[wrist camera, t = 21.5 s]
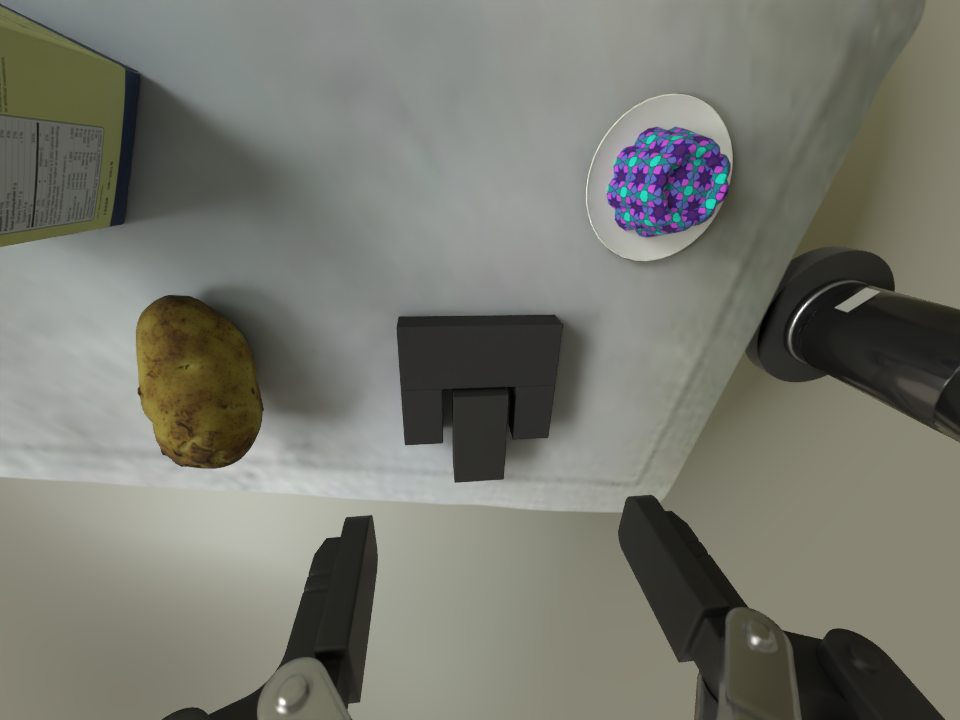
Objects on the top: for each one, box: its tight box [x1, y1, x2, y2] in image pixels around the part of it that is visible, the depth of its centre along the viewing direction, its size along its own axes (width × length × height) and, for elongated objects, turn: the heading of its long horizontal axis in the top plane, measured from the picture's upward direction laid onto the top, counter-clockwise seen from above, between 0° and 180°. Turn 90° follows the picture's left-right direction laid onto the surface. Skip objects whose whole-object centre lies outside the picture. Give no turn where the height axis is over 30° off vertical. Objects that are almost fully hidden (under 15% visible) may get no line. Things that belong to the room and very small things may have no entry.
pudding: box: [586, 94, 733, 261], centre depth 29 cm, size 12×12×5 cm
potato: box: [136, 295, 264, 469], centre depth 30 cm, size 8×13×8 cm, turn 170°
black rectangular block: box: [452, 387, 509, 483], centre depth 38 cm, size 5×10×3 cm, turn 179°
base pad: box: [397, 315, 563, 445], centre depth 36 cm, size 14×12×2 cm
